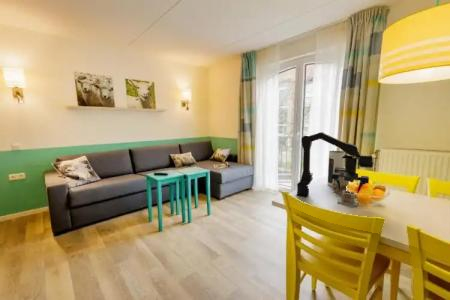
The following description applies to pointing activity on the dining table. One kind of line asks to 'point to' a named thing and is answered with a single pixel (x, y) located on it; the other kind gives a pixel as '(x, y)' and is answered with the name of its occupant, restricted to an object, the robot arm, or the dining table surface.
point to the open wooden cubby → (347, 196)
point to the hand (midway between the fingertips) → (348, 191)
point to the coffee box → (343, 183)
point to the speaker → (334, 164)
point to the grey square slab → (347, 202)
